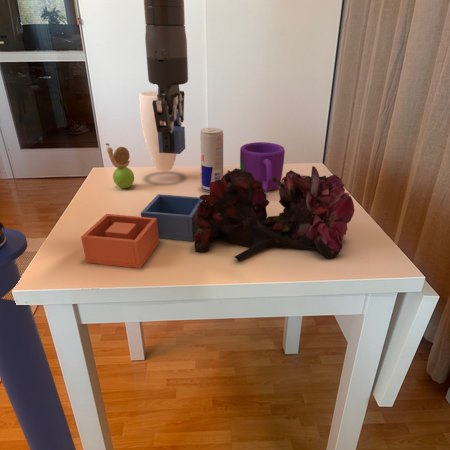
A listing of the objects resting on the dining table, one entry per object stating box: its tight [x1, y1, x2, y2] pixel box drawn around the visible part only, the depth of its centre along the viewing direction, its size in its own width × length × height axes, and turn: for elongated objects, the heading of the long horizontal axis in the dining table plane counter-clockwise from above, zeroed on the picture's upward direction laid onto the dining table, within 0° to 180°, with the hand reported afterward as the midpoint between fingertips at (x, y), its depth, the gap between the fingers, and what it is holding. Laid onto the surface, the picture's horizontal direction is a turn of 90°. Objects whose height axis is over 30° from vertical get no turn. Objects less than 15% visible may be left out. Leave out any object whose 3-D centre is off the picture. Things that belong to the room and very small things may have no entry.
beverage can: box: [199, 127, 224, 193], centre depth 106 cm, size 6×6×15 cm
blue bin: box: [140, 193, 203, 242], centre depth 89 cm, size 11×11×5 cm
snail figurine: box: [105, 142, 135, 189], centre depth 107 cm, size 5×6×12 cm
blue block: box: [158, 126, 186, 155], centre depth 86 cm, size 4×4×4 cm
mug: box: [239, 141, 286, 193], centre depth 107 cm, size 17×11×10 cm, turn 6°
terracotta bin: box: [80, 213, 160, 269], centre depth 80 cm, size 11×11×5 cm
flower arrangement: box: [194, 165, 356, 262], centre depth 82 cm, size 31×20×15 cm, turn 91°
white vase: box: [138, 90, 178, 171], centre depth 111 cm, size 10×10×22 cm
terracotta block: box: [105, 222, 138, 240], centre depth 79 cm, size 4×4×4 cm
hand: (172, 149), depth 87 cm, fingers closed on blue block, 4 cm apart
